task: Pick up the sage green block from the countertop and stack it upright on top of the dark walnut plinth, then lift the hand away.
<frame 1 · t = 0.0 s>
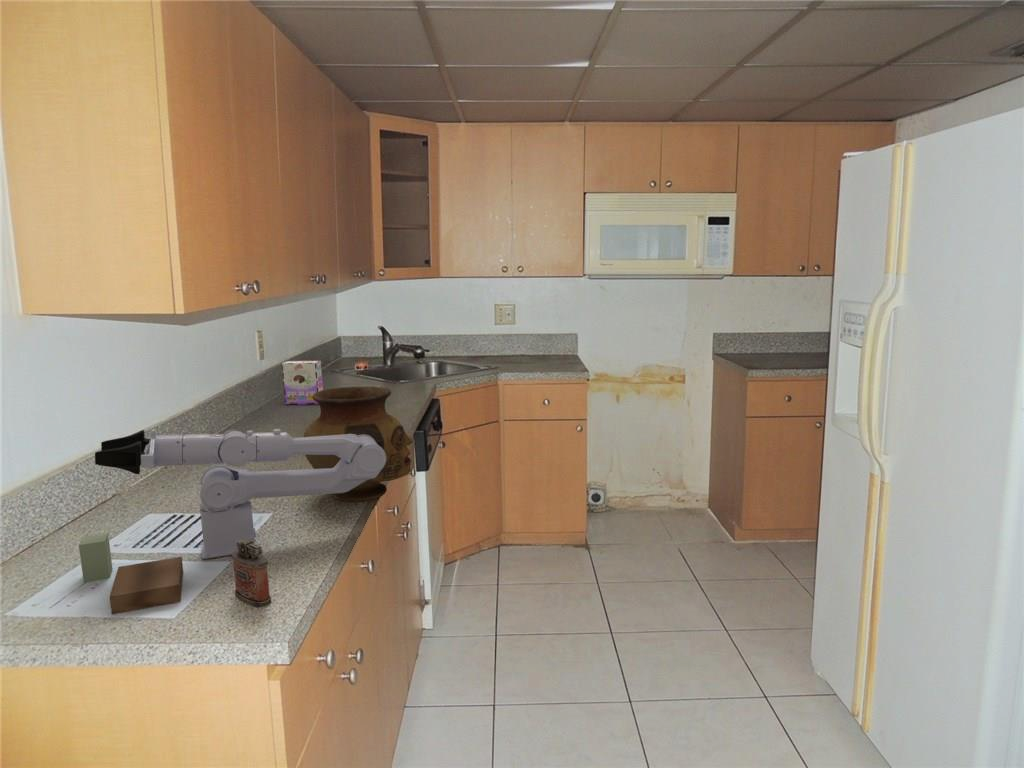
hand: (98, 452, 126), 22 cm above the countertop, tool horizontal, fingers open, 7 cm apart
lighter: (253, 599, 116), on the countertop
block: (98, 575, 126), on the countertop
pot: (360, 493, 168), on the countertop
candy box: (304, 403, 274), on the countertop
plinth: (149, 591, 119), on the countertop
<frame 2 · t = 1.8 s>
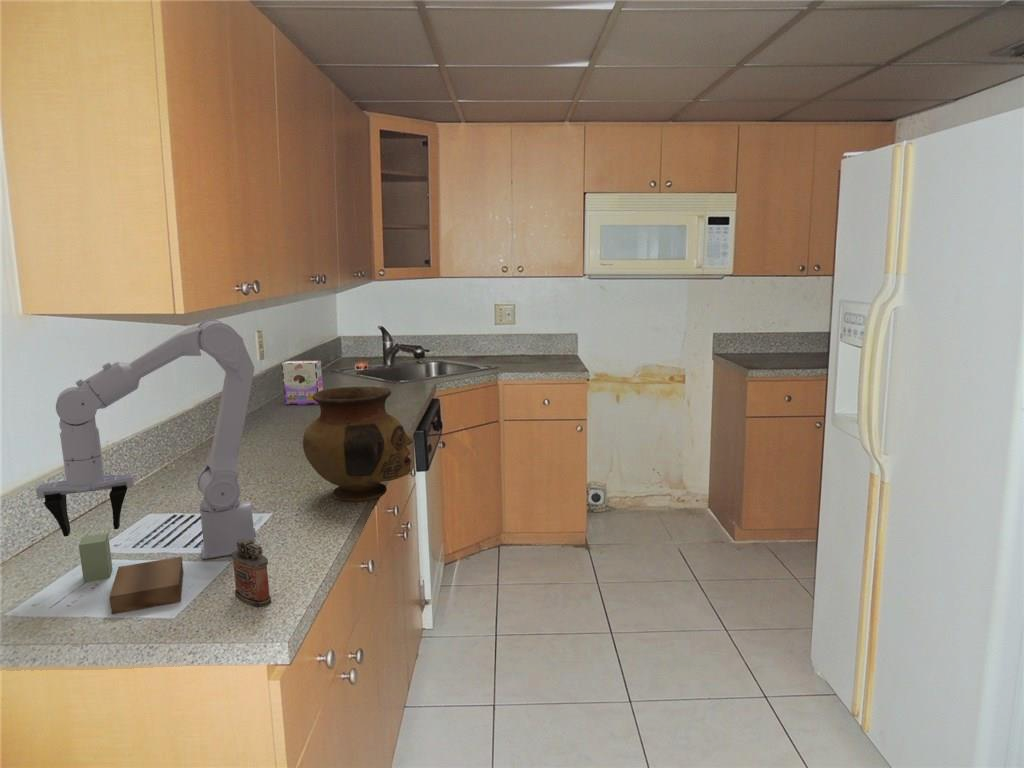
hand: (92, 530, 125), 8 cm above the countertop, tool pointing down, fingers open, 7 cm apart
nothing on the countertop moved.
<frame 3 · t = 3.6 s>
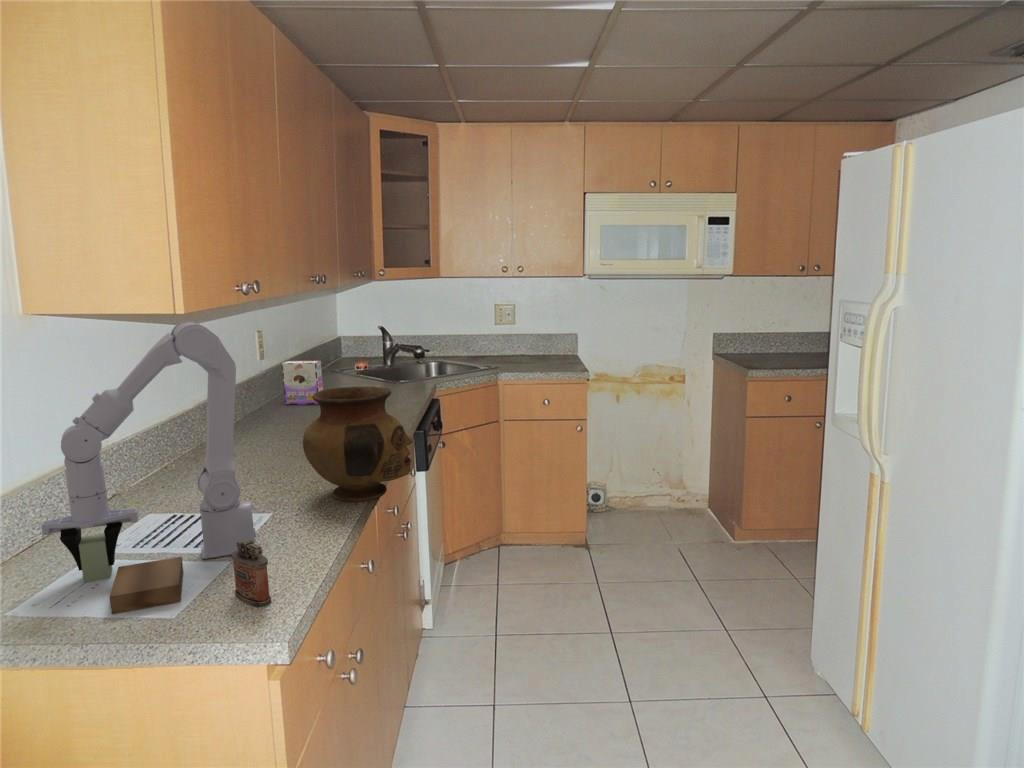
hand: (97, 565, 126), 2 cm above the countertop, tool pointing down, fingers closed on block, 4 cm apart
block: (98, 575, 126), on the countertop, touching gripper
everything else where it was.
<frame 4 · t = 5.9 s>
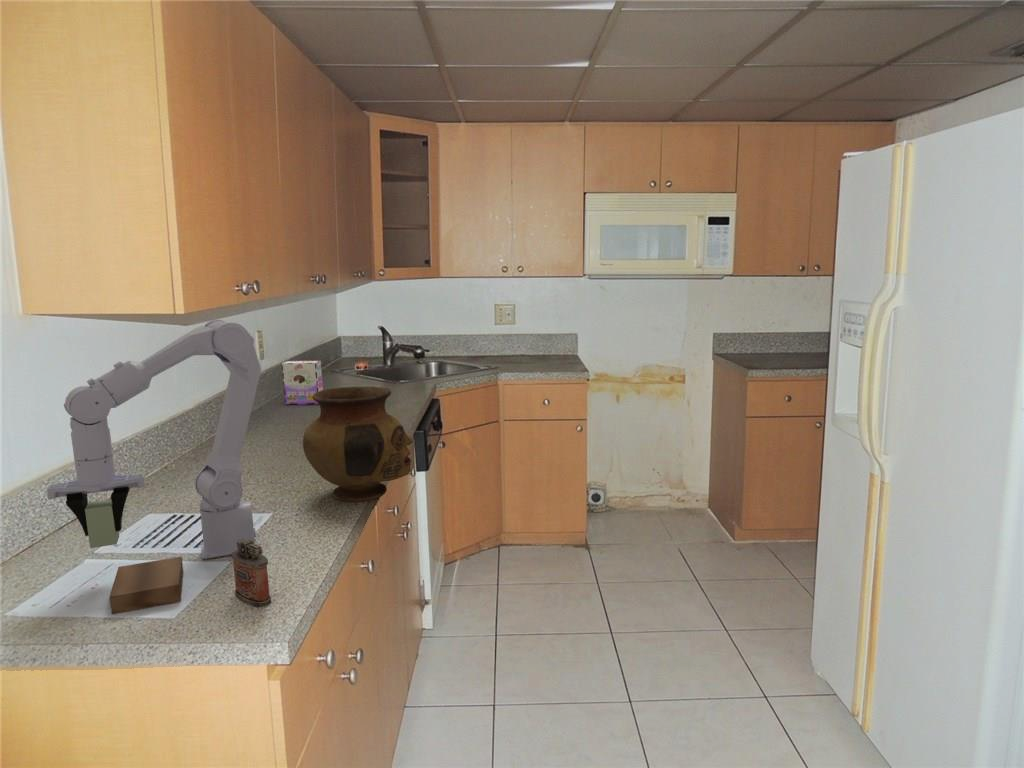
hand: (103, 531, 123), 9 cm above the countertop, tool pointing down, fingers closed on block, 4 cm apart
block: (105, 542, 123), point 7 cm above the countertop, touching gripper
everything else where it was.
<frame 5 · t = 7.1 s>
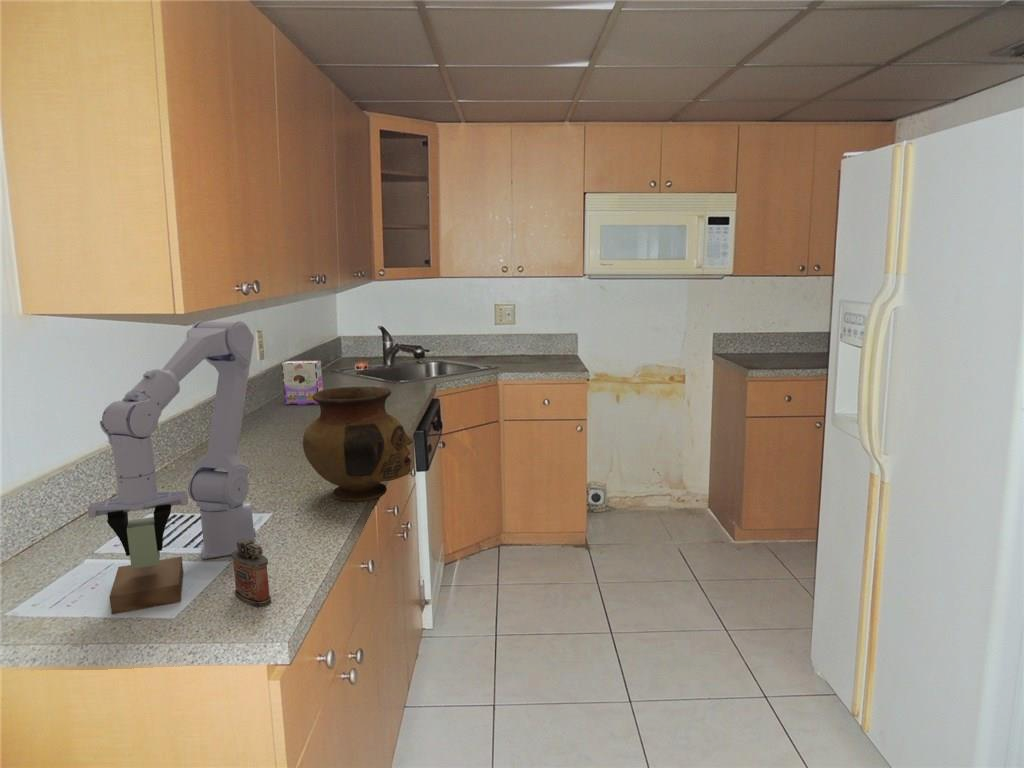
hand: (144, 551, 118), 7 cm above the countertop, tool pointing down, fingers closed on block, 4 cm apart
block: (146, 561, 118), point 5 cm above the countertop, touching gripper
everything else where it was.
when the fingers open (6 cm above the countertop, at t = 8.2 s): block stays where it is, resting on plinth.
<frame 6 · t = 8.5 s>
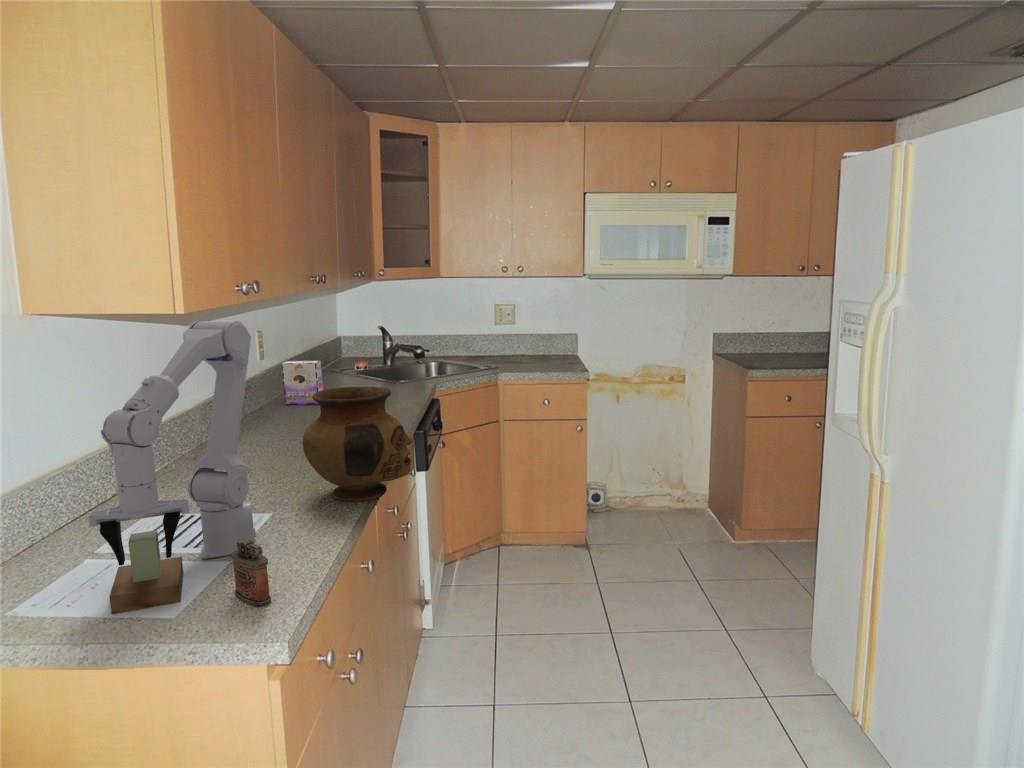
hand: (145, 559, 118), 6 cm above the countertop, tool pointing down, fingers open, 6 cm apart
block: (147, 575, 119), point 3 cm above the countertop, touching plinth
everything else where it was.
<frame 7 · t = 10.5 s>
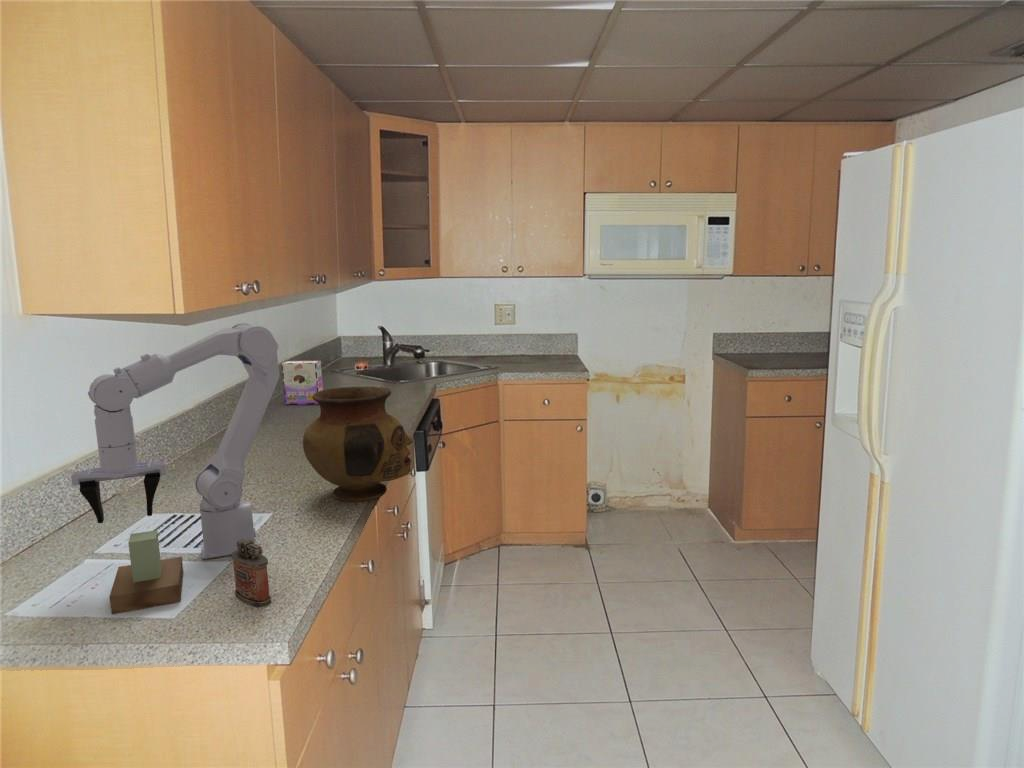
hand: (125, 517, 125), 10 cm above the countertop, tool pointing down, fingers open, 7 cm apart
nothing on the countertop moved.
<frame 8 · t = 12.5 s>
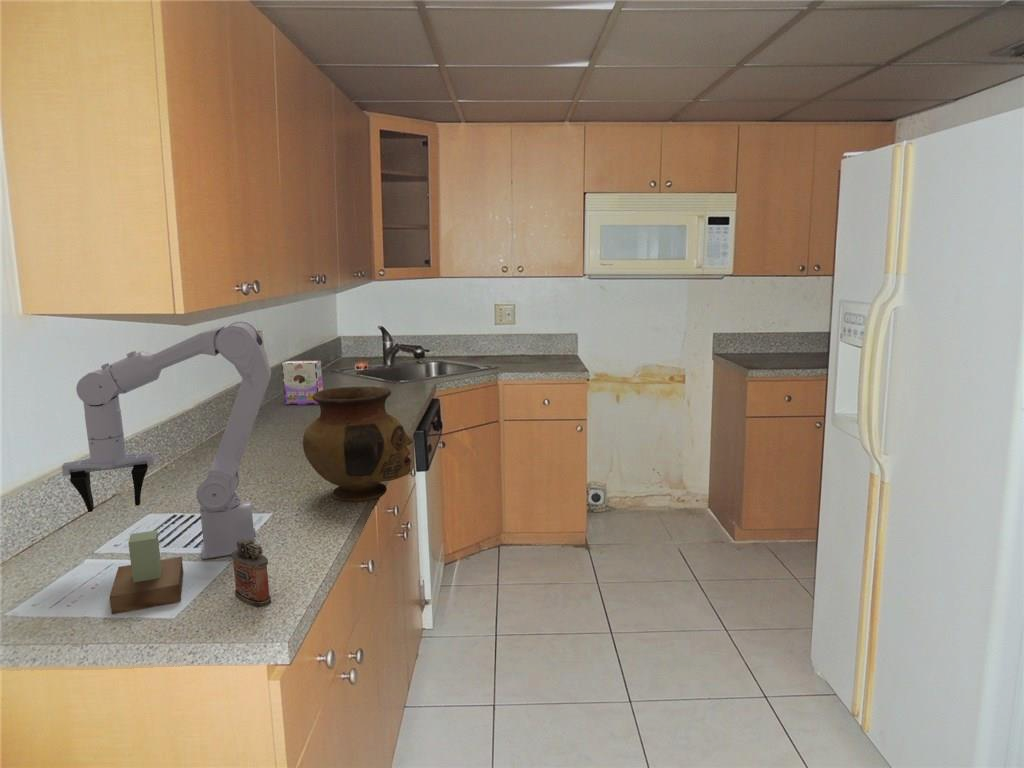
hand: (114, 507, 131), 10 cm above the countertop, tool pointing down, fingers open, 7 cm apart
nothing on the countertop moved.
at the end: block inside the target area on the plinth (0.0 cm from its centre), point 3.0 cm above the plinth's base; block tilted 0°; the gripper is holding nothing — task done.
